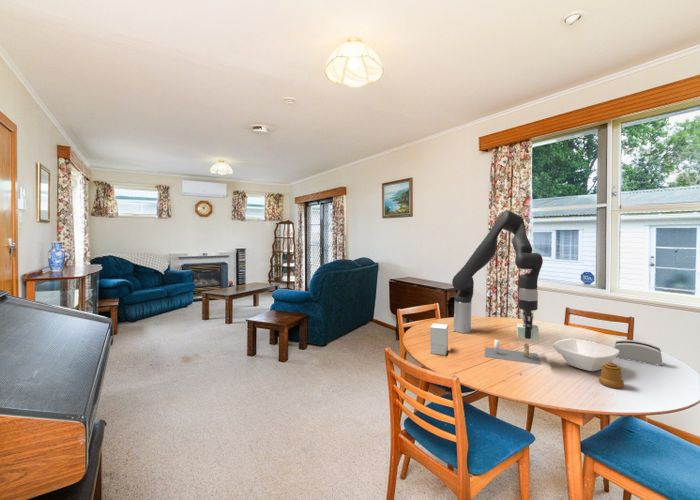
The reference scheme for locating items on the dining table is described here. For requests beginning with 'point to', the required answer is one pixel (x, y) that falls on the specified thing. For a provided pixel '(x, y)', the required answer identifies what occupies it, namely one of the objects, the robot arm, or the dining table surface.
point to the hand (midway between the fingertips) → (527, 336)
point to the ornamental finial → (611, 376)
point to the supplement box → (439, 339)
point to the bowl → (585, 353)
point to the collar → (522, 332)
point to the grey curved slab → (638, 351)
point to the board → (512, 354)
